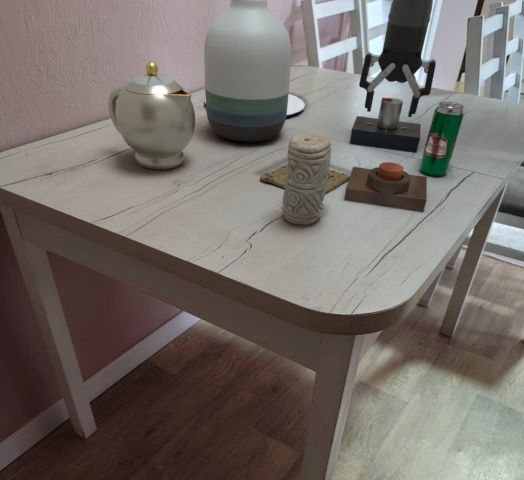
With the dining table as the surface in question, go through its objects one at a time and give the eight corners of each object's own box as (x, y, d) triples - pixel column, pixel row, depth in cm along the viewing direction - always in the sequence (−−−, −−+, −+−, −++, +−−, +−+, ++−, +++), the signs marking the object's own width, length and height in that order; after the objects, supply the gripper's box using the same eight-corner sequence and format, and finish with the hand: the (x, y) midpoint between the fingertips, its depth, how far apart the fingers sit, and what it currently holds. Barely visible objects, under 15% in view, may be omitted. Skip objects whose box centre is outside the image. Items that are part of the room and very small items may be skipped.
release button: (401, 174, 82) (404, 164, 81) (400, 183, 79) (403, 172, 78) (377, 171, 82) (380, 160, 81) (376, 179, 79) (378, 169, 78)
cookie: (316, 200, 81) (316, 194, 80) (257, 180, 86) (258, 174, 85) (351, 179, 88) (352, 174, 87) (295, 162, 93) (296, 157, 93)
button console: (423, 188, 87) (429, 166, 84) (423, 212, 79) (429, 188, 77) (350, 178, 89) (354, 156, 86) (344, 200, 81) (348, 177, 79)
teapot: (214, 159, 93) (212, 61, 82) (171, 183, 83) (163, 76, 73) (138, 141, 98) (127, 47, 88) (90, 161, 89) (72, 58, 78)
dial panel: (417, 138, 108) (420, 122, 106) (416, 152, 101) (420, 136, 99) (354, 130, 111) (357, 115, 109) (349, 143, 103) (352, 128, 101)
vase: (230, 118, 113) (230, -11, 97) (297, 131, 108) (309, -2, 92) (191, 138, 101) (184, -4, 85) (264, 154, 96) (271, 6, 80)
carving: (278, 226, 73) (284, 144, 65) (285, 205, 79) (291, 127, 71) (319, 232, 73) (331, 149, 65) (324, 210, 78) (335, 132, 70)
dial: (398, 124, 105) (403, 97, 102) (397, 130, 102) (403, 103, 98) (377, 121, 106) (382, 95, 102) (376, 127, 103) (381, 100, 99)
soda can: (413, 171, 93) (431, 103, 85) (427, 165, 96) (445, 99, 88) (437, 180, 90) (457, 110, 82) (450, 173, 93) (471, 105, 85)
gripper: (446, 22, 93) (423, 113, 104) (372, 15, 96) (357, 104, 106) (447, 28, 88) (423, 123, 99) (368, 20, 90) (353, 114, 101)
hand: (389, 113), depth 102 cm, fingers open, 8 cm apart
